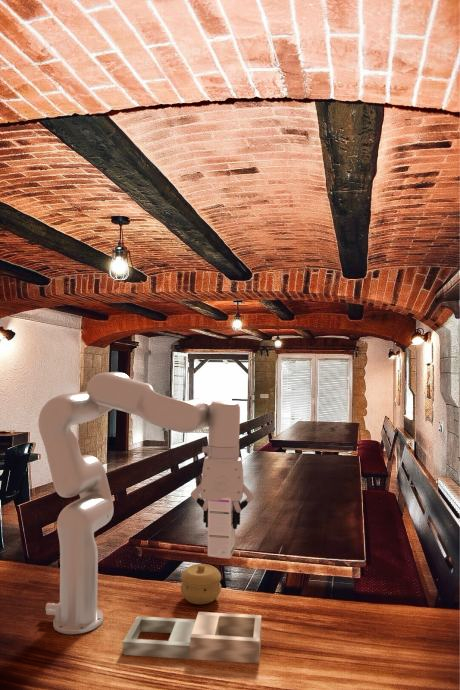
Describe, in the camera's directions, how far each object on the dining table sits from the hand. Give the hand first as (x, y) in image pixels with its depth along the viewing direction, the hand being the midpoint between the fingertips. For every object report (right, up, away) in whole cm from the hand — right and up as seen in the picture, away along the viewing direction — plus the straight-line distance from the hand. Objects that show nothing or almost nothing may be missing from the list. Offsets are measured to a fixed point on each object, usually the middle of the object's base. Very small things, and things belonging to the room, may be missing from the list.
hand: (221, 525), depth 125 cm
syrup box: (0, -7, 0) cm, 7 cm away
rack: (-7, -29, 0) cm, 30 cm away
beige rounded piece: (-6, -30, +23) cm, 38 cm away
